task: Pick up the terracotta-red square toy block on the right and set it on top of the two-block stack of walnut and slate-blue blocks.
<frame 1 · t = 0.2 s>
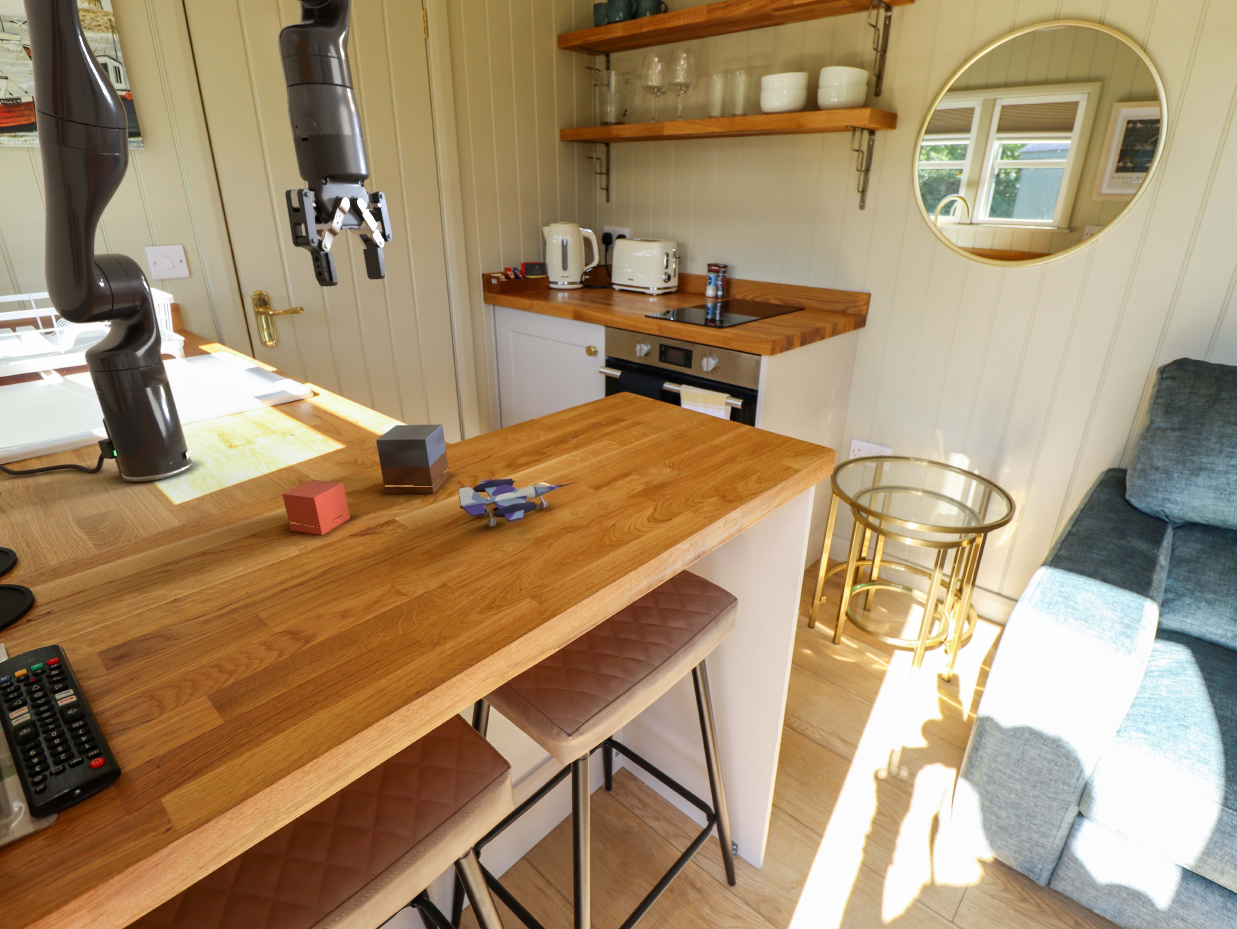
hand: (353, 282, 81), 29 cm above the breakfast bar, tool pointing down, fingers open, 8 cm apart
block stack: (418, 484, 96), on the breakfast bar
toy airplane: (515, 516, 84), on the breakfast bar
toy block: (321, 524, 84), on the breakfast bar
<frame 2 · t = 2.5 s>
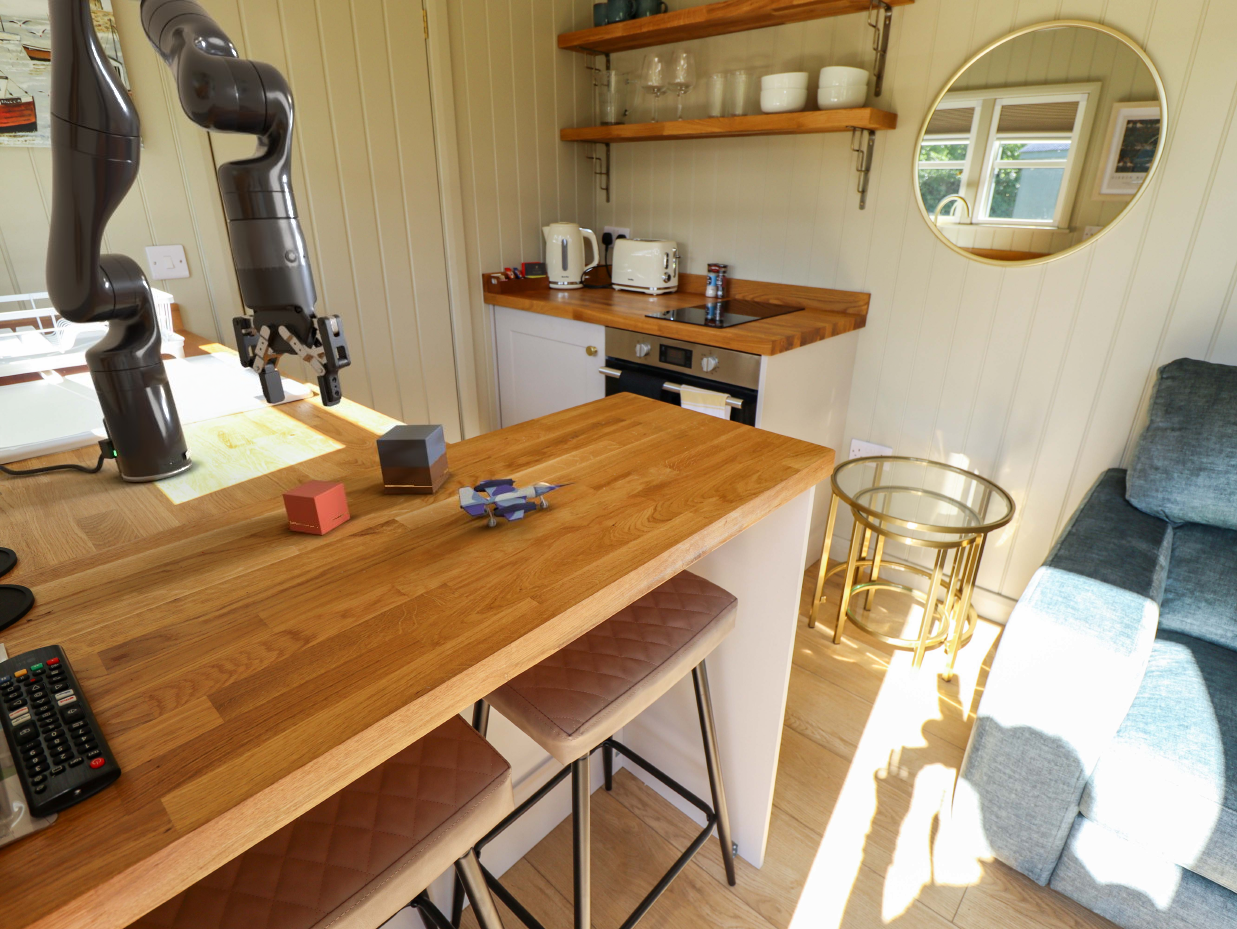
hand: (303, 403, 79), 16 cm above the breakfast bar, tool pointing down, fingers open, 8 cm apart
nothing on the breakfast bar moved.
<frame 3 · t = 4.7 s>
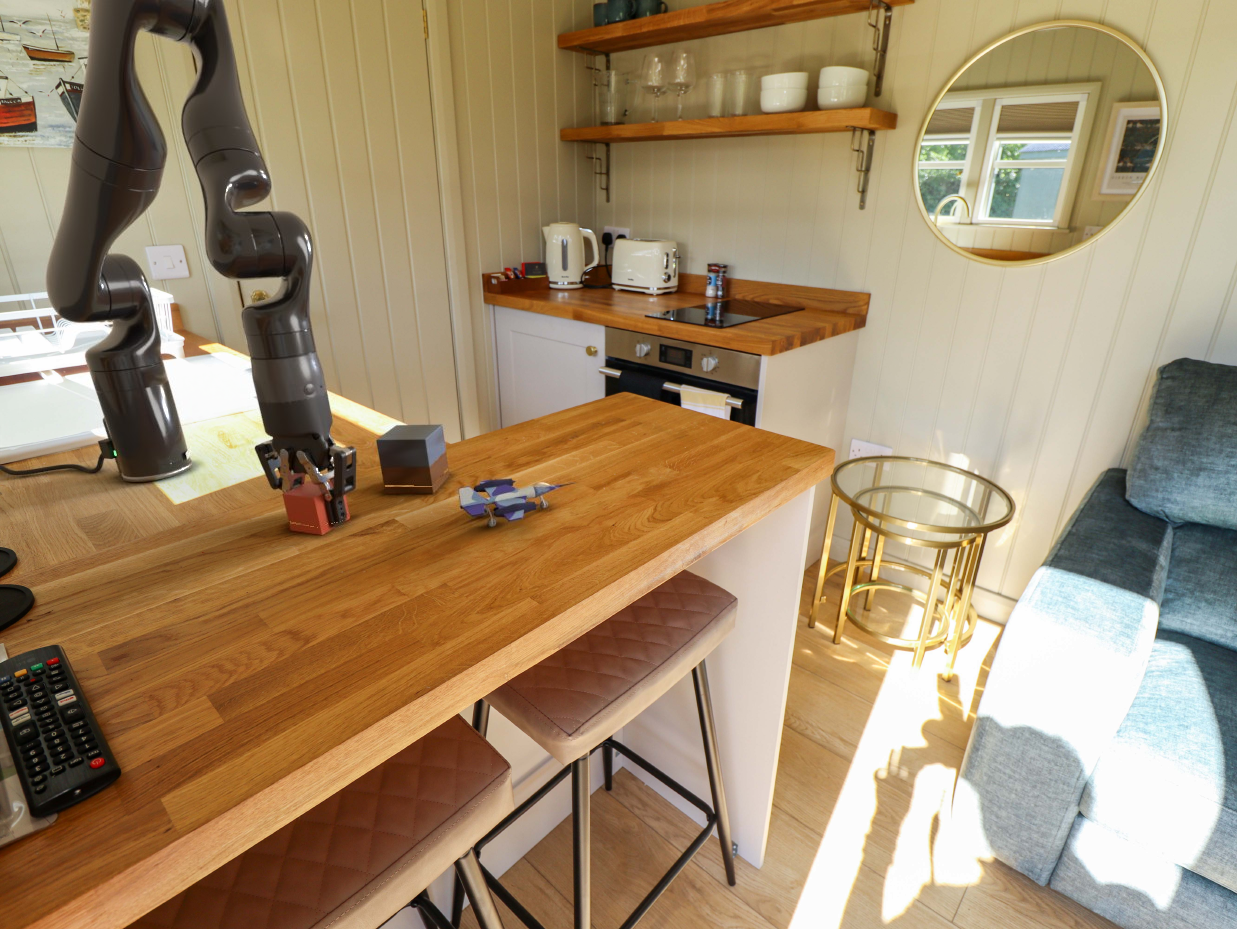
hand: (320, 521, 84), 0 cm above the breakfast bar, tool pointing down, fingers closed on toy block, 5 cm apart
toy block: (321, 524, 84), on the breakfast bar, touching gripper
everything else where it was.
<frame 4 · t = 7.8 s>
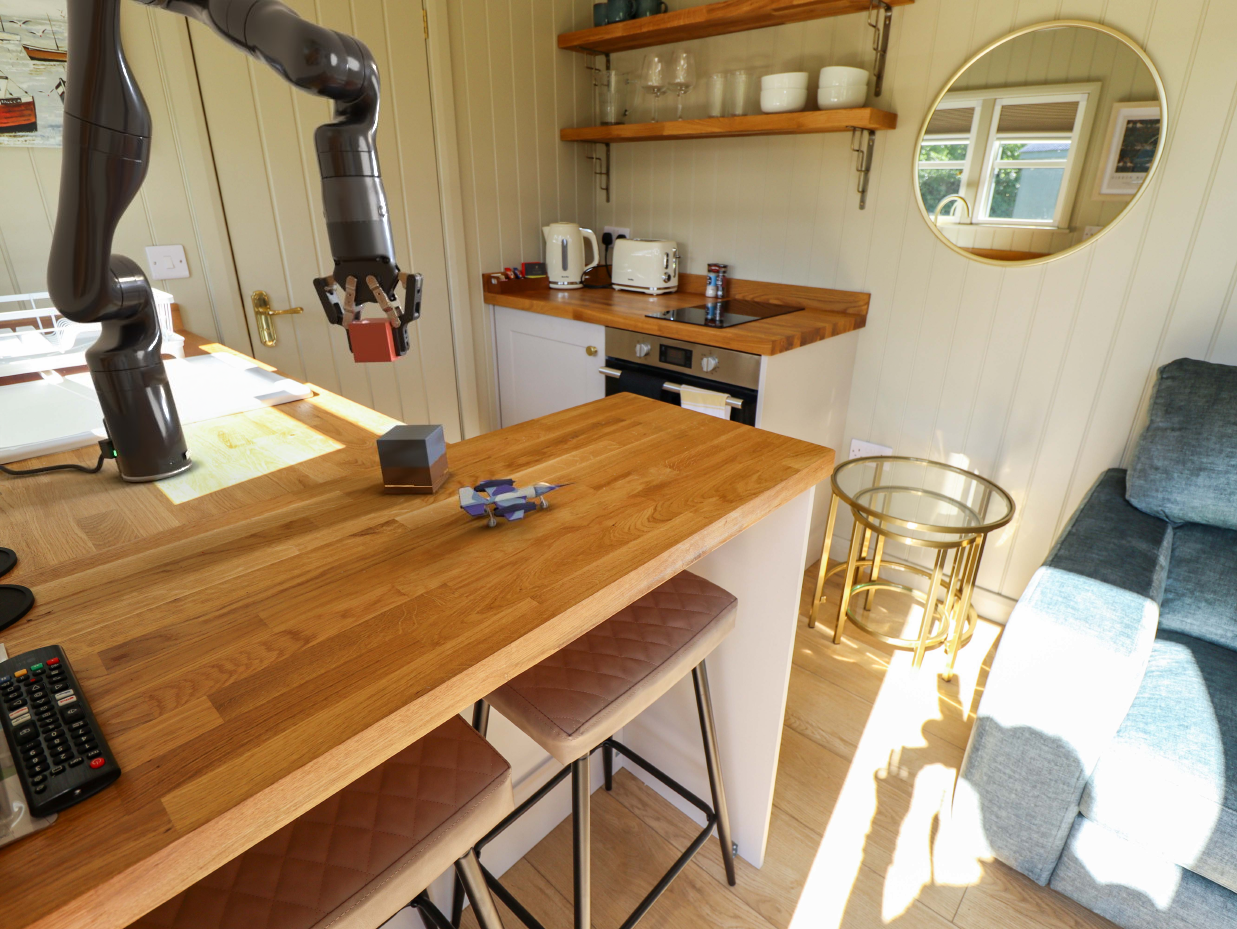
hand: (380, 355, 87), 19 cm above the breakfast bar, tool pointing down, fingers closed on toy block, 5 cm apart
toy block: (381, 358, 87), point 19 cm above the breakfast bar, touching gripper
everything else where it was.
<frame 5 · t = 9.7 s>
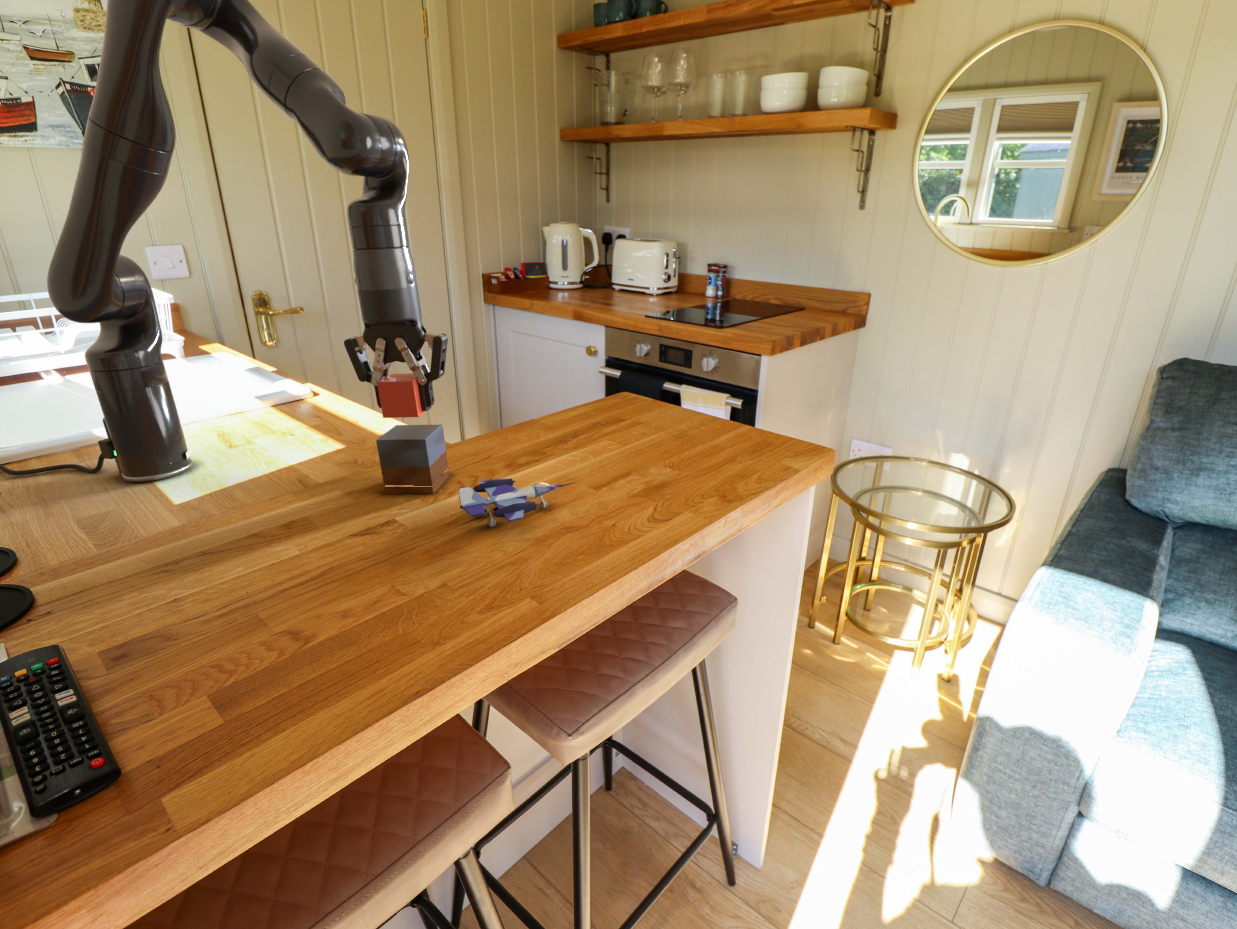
hand: (407, 409, 92), 11 cm above the breakfast bar, tool pointing down, fingers closed on toy block, 5 cm apart
toy block: (407, 412, 92), point 11 cm above the breakfast bar, touching gripper
everything else where it was.
when the fingers open (8 cm above the breakfast bar, at t = 11.0 s): toy block stays where it is, resting on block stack.
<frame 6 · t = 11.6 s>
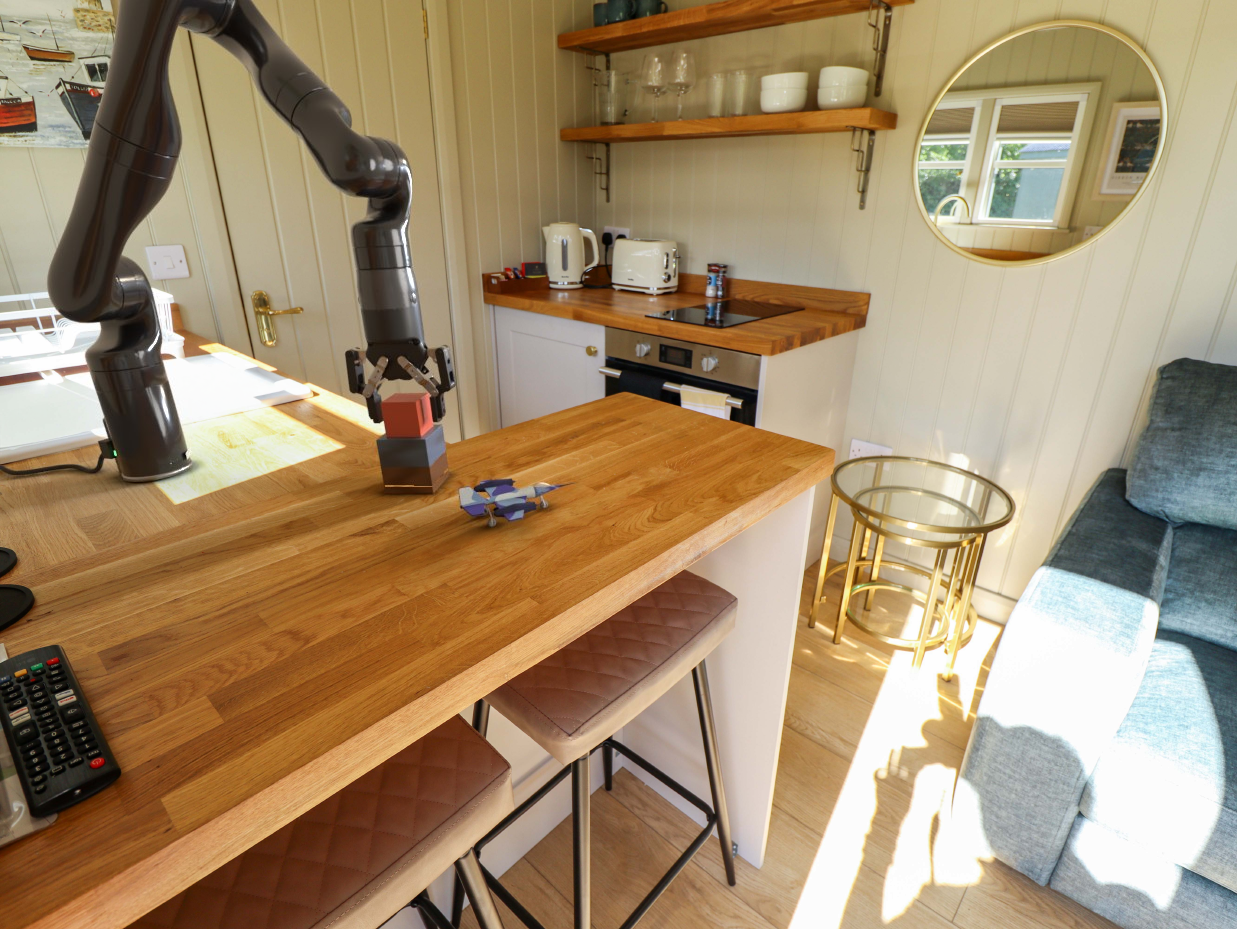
hand: (408, 421, 93), 10 cm above the breakfast bar, tool pointing down, fingers open, 8 cm apart
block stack: (418, 484, 96), on the breakfast bar, touching toy block
toy block: (410, 431, 93), point 8 cm above the breakfast bar, touching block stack
everything else where it was.
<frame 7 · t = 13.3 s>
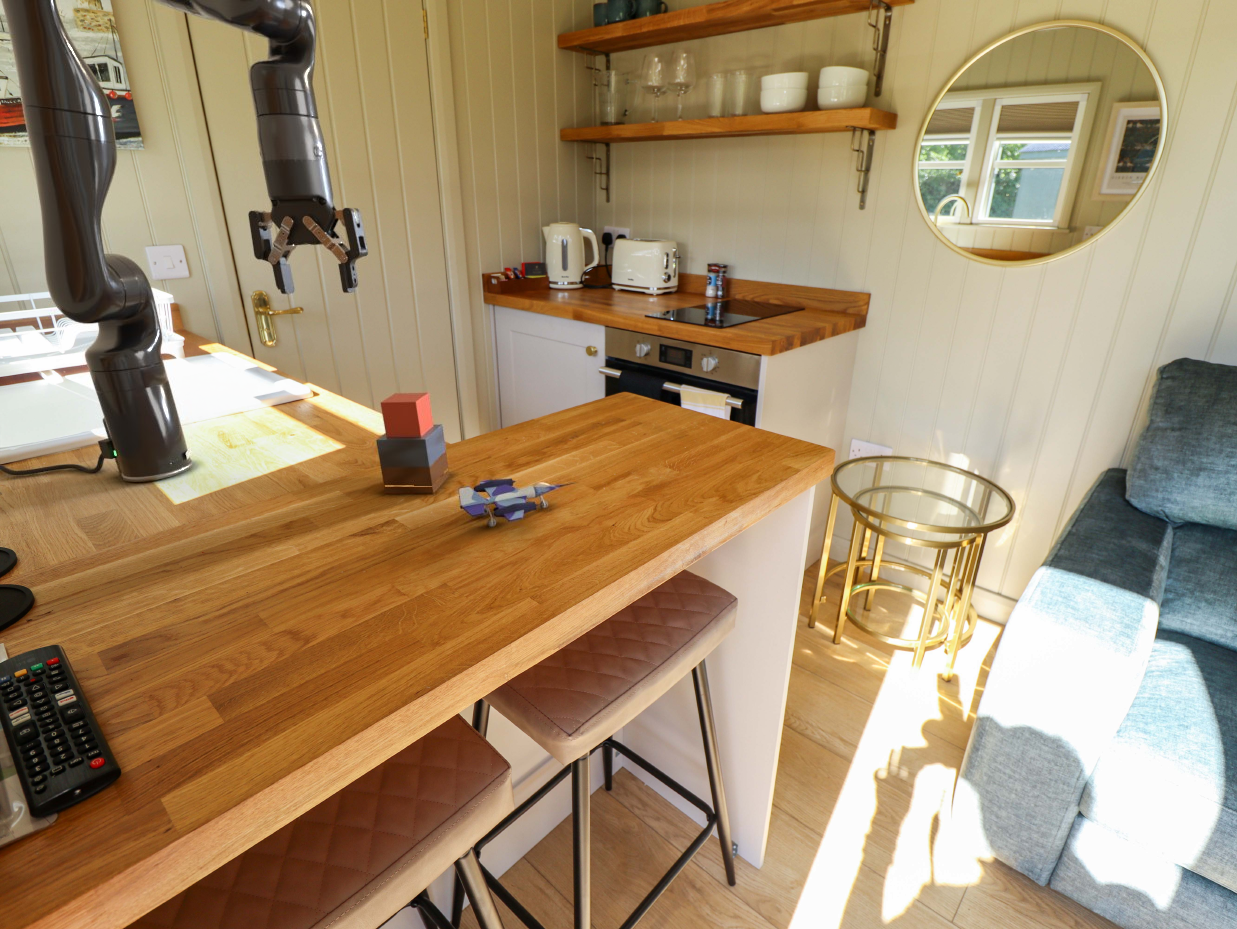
hand: (318, 292, 88), 27 cm above the breakfast bar, tool pointing down, fingers open, 8 cm apart
nothing on the breakfast bar moved.
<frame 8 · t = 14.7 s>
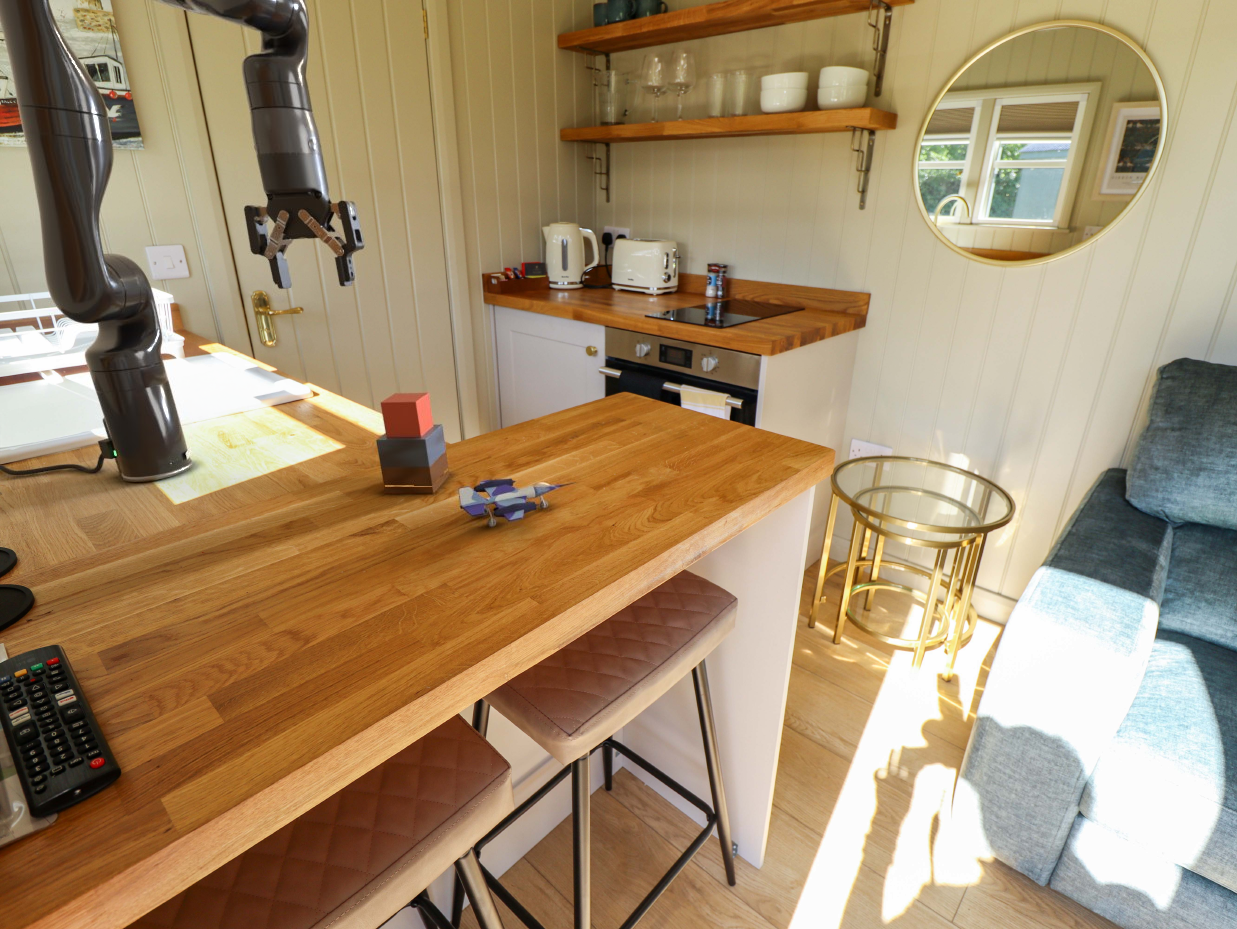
hand: (315, 287, 88), 28 cm above the breakfast bar, tool pointing down, fingers open, 8 cm apart
nothing on the breakfast bar moved.
at the end: toy block 0.0 cm off-centre on the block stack, point 8.0 cm above the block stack's base; toy block tilted 0°; the gripper is holding nothing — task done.
